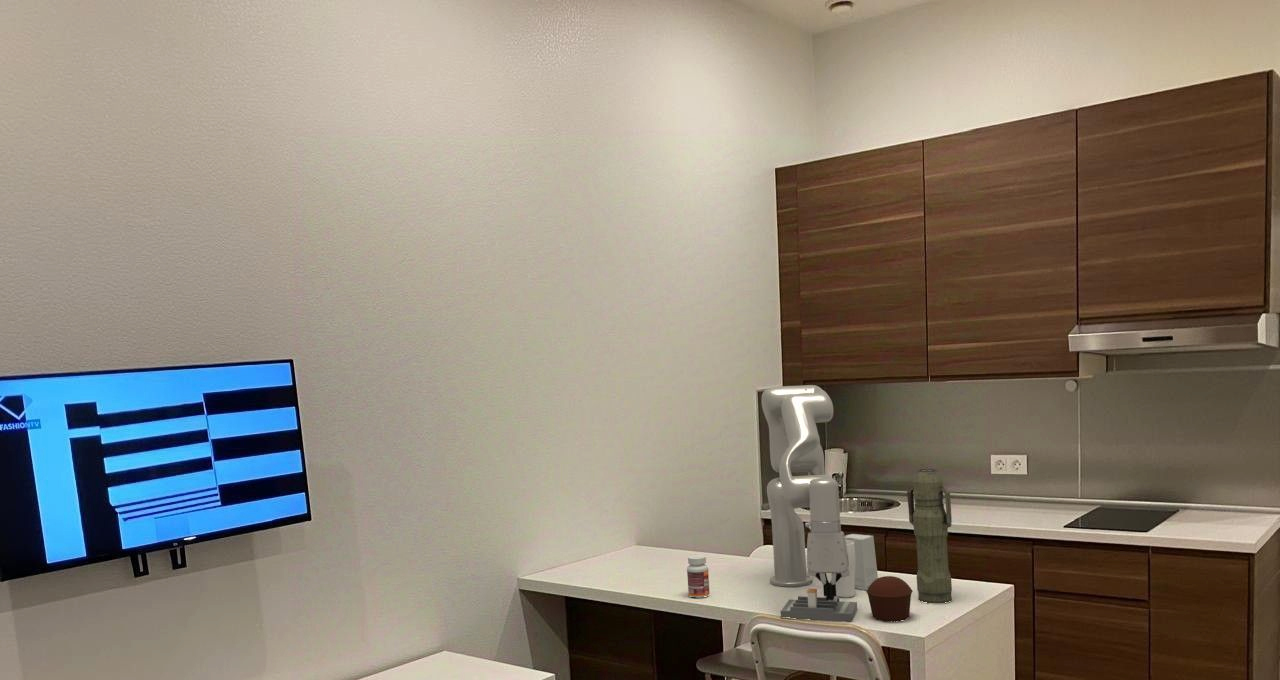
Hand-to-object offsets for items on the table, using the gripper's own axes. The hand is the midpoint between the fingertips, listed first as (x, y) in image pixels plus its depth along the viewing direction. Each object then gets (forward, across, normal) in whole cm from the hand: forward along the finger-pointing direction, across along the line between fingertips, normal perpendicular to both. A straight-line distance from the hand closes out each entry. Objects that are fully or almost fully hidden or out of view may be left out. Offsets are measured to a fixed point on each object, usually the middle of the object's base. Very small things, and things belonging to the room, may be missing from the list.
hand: (830, 599), depth 235 cm
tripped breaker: (+3, -5, 0) cm, 5 cm away
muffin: (+5, +14, +4) cm, 16 cm away
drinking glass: (+5, 0, +24) cm, 24 cm away
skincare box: (+5, +3, +35) cm, 35 cm away
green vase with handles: (+5, +24, +23) cm, 34 cm away
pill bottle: (+5, -41, +18) cm, 45 cm away
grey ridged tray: (+5, -4, +4) cm, 7 cm away
